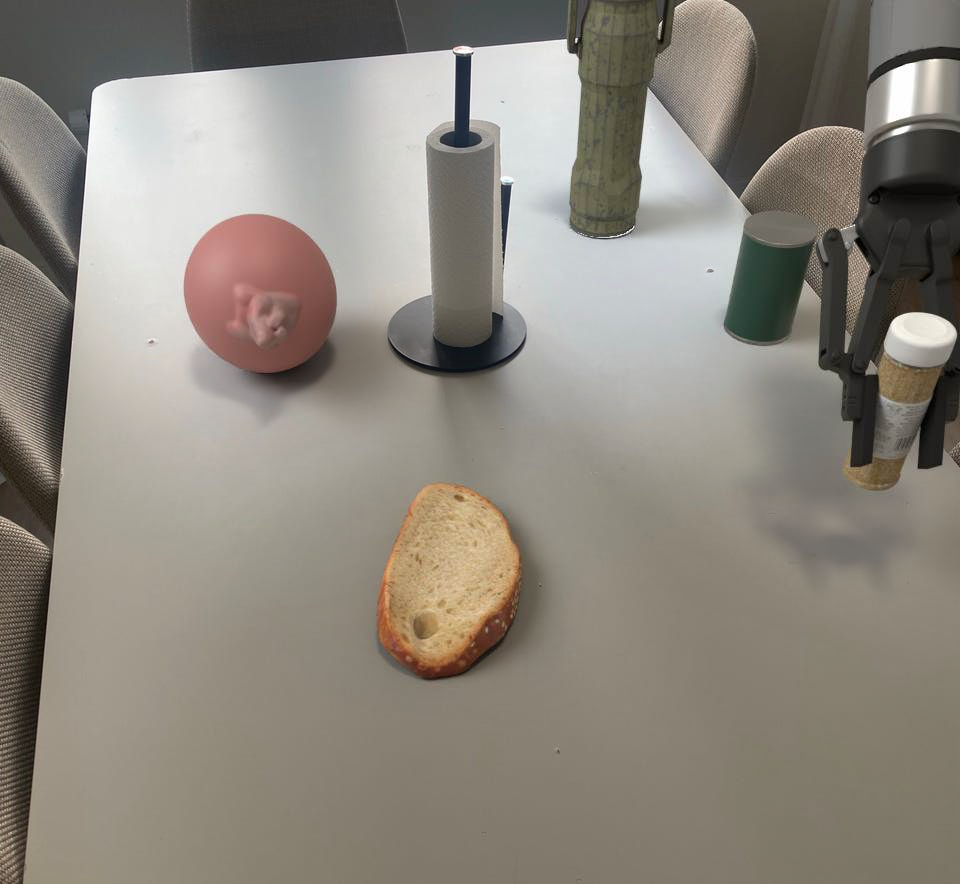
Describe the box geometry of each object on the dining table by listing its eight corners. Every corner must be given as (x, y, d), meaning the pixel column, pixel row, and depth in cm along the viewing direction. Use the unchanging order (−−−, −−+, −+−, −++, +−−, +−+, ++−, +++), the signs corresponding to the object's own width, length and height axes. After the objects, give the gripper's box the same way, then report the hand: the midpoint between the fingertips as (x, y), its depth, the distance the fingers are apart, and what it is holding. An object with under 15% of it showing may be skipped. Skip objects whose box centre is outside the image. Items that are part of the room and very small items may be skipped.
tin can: (792, 314, 108) (818, 214, 100) (790, 349, 104) (817, 248, 95) (726, 306, 110) (746, 207, 101) (721, 340, 105) (741, 240, 96)
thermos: (656, 235, 121) (701, -106, 95) (566, 243, 120) (586, -100, 93) (637, 204, 127) (675, -126, 100) (551, 211, 126) (567, -120, 99)
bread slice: (451, 484, 89) (450, 452, 86) (590, 584, 80) (594, 552, 78) (295, 576, 81) (288, 544, 78) (430, 698, 73) (428, 667, 70)
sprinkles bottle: (880, 454, 79) (936, 305, 68) (909, 488, 76) (972, 338, 66) (830, 463, 78) (879, 314, 68) (857, 498, 75) (913, 348, 65)
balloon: (196, 435, 94) (155, 292, 83) (206, 328, 107) (172, 192, 96) (350, 421, 96) (330, 279, 84) (342, 317, 109) (324, 182, 97)
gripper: (1012, 170, 73) (989, 474, 75) (783, 167, 74) (766, 468, 76) (1067, 124, 65) (1040, 464, 67) (811, 121, 66) (791, 456, 68)
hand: (895, 465), depth 71 cm, fingers closed on sprinkles bottle, 4 cm apart
